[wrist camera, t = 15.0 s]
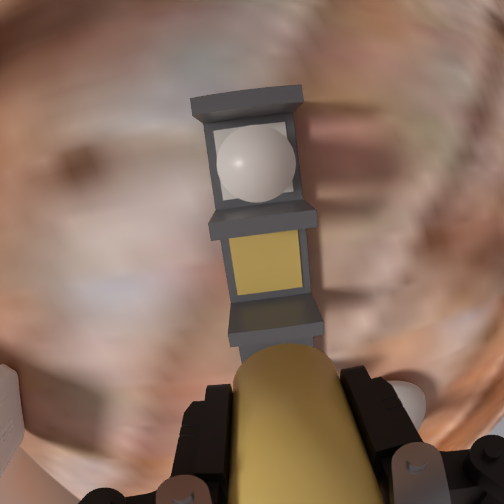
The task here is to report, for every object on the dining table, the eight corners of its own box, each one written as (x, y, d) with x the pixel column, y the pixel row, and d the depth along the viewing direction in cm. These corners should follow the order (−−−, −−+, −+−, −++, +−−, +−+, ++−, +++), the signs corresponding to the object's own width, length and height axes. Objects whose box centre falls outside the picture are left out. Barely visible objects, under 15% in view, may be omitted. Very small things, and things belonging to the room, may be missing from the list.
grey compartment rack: (203, 111, 21) (190, 98, 16) (288, 101, 21) (301, 84, 16) (245, 377, 27) (245, 420, 22) (312, 368, 27) (324, 410, 22)
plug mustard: (224, 350, 10) (205, 566, 3) (337, 335, 10) (421, 532, 3) (241, 425, 11) (239, 596, 4) (336, 412, 11) (382, 575, 4)
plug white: (222, 139, 21) (211, 130, 14) (275, 132, 20) (290, 120, 14) (229, 192, 22) (222, 207, 15) (283, 184, 22) (300, 197, 15)
